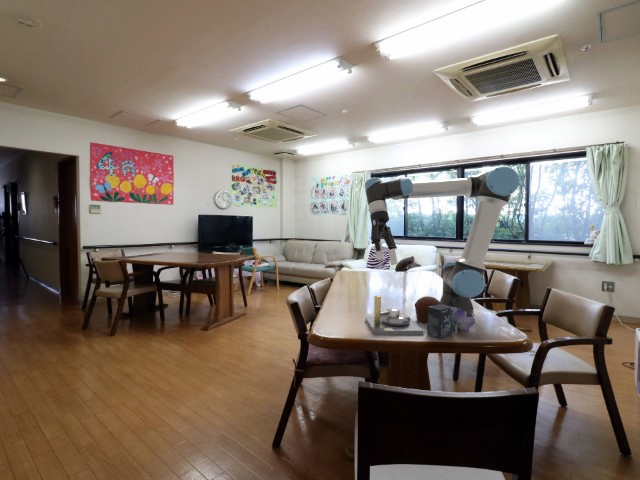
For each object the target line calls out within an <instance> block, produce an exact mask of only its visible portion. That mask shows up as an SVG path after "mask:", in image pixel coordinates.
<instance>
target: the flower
mask: <svg viewBox="0 0 640 480" xmlns="http://www.w3.org/2000/svg"><path fill="white" fill-rule="evenodd" d="M456 308H457V307H455V308H454V320H453V331H454V333H455V334H456V333H457V334H458V330H461V331H462V332H469V331H470V329H471V327H473V326H474V324H475V323H476V320H475V319H474V318H473V316H467V312H466V311H465V312H463V310H461V309H460V308H459V310H458V309H456ZM468 330H469V331H468Z"/></svg>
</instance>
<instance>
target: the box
mask: <svg viewBox="0 0 640 480" xmlns="http://www.w3.org/2000/svg"><path fill="white" fill-rule="evenodd" d="M453 320H454V307H451V306H447V305H443V304H439V305H434V306H428V322H427V324H426V326H427V327H426V329H427V330H426V335H427V336H429V337H432V338H435V339H437V338H438V339H437V340H440V339H444V338H447V337H448V338H449V337H451V336H454V328H453Z"/></svg>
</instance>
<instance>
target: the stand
mask: <svg viewBox="0 0 640 480" xmlns="http://www.w3.org/2000/svg"><path fill="white" fill-rule="evenodd" d="M365 322H366V324H367V326H368V327H369V329H370V331H371V332H372V334H373V335H374V336H410V335H411V336H423V335H424V330H423V329H422V328H421V327H420V326H419V325H418V324H417V323H416V322H415V321H414V320H412V318H410V324H409V325H406V326H391V325H387V324H384V323H382V322H381V323H380V326H379V327H377V326H374V316H372V317H371V316H367V317H365Z"/></svg>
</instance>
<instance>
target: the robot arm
mask: <svg viewBox="0 0 640 480" xmlns="http://www.w3.org/2000/svg"><path fill="white" fill-rule="evenodd" d="M519 184H520V178H519V175H518V173H517V172H516V171H515V170H514V169H513V168H511V167H509V166H507V165H506V166H505V165H501V166H495V167H492V168H490V170H487V171H484V172H482V173H480V174H476V175H475V174H474V175H467V176H466V177H465V178H453V179H438V180H422V181H421V180H420V181H412V178H411V177H409V176H408V177H401V178H396V179H392V180H388V181H383V180H382V179H381V178H380V177H370V178H369V179H367V180H366V181H365V183H364V187H365V189H364V190H365V195H366V200H367V201H366V202H367V205H368V209H367V211H368V212H369V216H370V217H369V218H370V223H371V235H370V241H371V244H372V245H374V248H375V249H374V250H375V255H376V261H382V260H385V254H384V247H383V242H381V241H382V240H381V239H382V238H383V240H384V242H385V244H386V246H387V249H388V250H387V251H388V255H389V256H388V257H389V262H390V266H394V265H398V264H399V263H398V258H397V253H396V249H398V246H397V245H396V242H395V239H394V237H393V234H392V230H391V226H388V225H387V223H388V222H389V221H390V216H389V212H388V206H387V205H388V204H387V201H386V200H390V199H392V200H393V201H398V200H404V199H405V200H406V199H424V198H442V197H443V198H444V197H446V198H447V197H460V196H461V197H463V196H465V197H466V198H468V199H469V198H471V199H472V198H475V199H477V200H478V202H479V203H478V205H477V209H476V211H475V214H474V217H473V221H472V223H471V227H470V230H469V233H468V235H467V239H466V241H465V245H464V247H463V251H462V254H461V257H460V258H458V259H456V260H455V261H446V262H444V263H443V267H442V294H441V297H440V300H439V302H440V303H441V304H443V305H447V306H451V307H454V308H455V307H457V308H456V309H458V310H459V308H460V309H461V310H463V312H465V311H466V312H467V317H470V316H469V315H471V316H473V315H474V312H475V309H474V306H473V302H472V299H471V298H474V297H477V296H479V295H480V294H481V293H482V292H483V290H484V288H485V279H484V275H485V274H486V273H485V271H486V270H487V269H486V266H485V265H484V264H485V263H484V262H485V259H486V257H487V253H488V250H489V248H490V245H491V241H492V240H493V239H492V238H493V235H494V232H495V231H496V230H495V229H496V227H497V223H498V220H499V219H500V218H499V217H500V215H501V213H502V212H501V211H502V208H503V207H505V206H507V205H508V204H509V201H510V198H511V196H512V194H513V193H515V191H516V190H517V189H518V188H519ZM472 314H473V315H472Z"/></svg>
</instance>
